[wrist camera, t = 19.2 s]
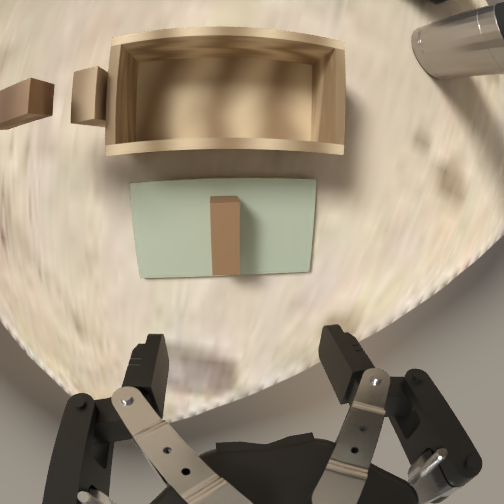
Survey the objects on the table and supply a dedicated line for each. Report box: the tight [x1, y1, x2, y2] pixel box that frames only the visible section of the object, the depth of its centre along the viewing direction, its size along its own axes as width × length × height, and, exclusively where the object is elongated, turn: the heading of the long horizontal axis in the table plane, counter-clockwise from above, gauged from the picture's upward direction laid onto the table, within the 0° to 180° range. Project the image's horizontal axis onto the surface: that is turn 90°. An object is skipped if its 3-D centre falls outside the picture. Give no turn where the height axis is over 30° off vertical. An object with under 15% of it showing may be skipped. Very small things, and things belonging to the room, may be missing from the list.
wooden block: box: [0, 78, 54, 130], centre depth 15 cm, size 6×3×4 cm, turn 89°
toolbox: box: [71, 27, 346, 156], centre depth 24 cm, size 25×12×10 cm, turn 89°
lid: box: [129, 177, 317, 278], centre depth 32 cm, size 22×12×6 cm, turn 89°
